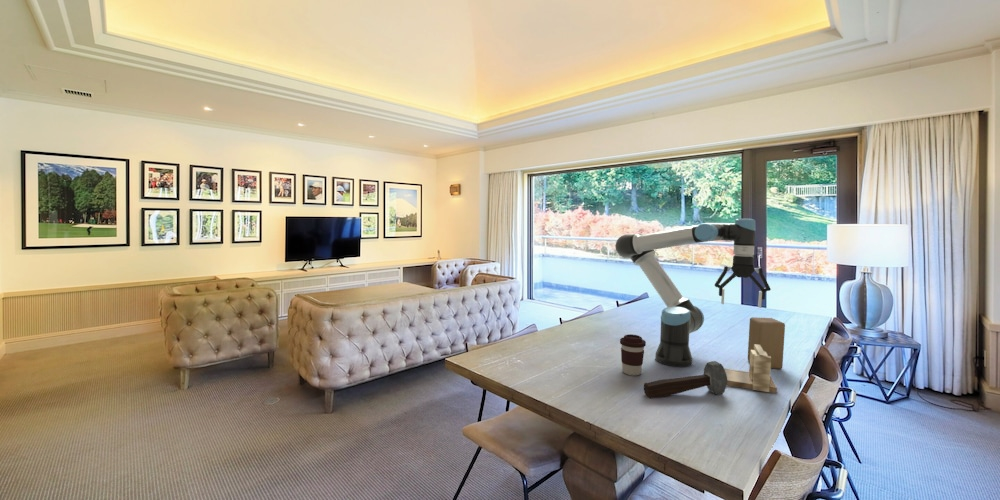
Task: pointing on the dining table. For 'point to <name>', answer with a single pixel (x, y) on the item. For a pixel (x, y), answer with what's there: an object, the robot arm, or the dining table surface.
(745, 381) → the board
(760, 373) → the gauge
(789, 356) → the dining table surface
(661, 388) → the hammer
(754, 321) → the wooden block
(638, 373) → the coffee cup
